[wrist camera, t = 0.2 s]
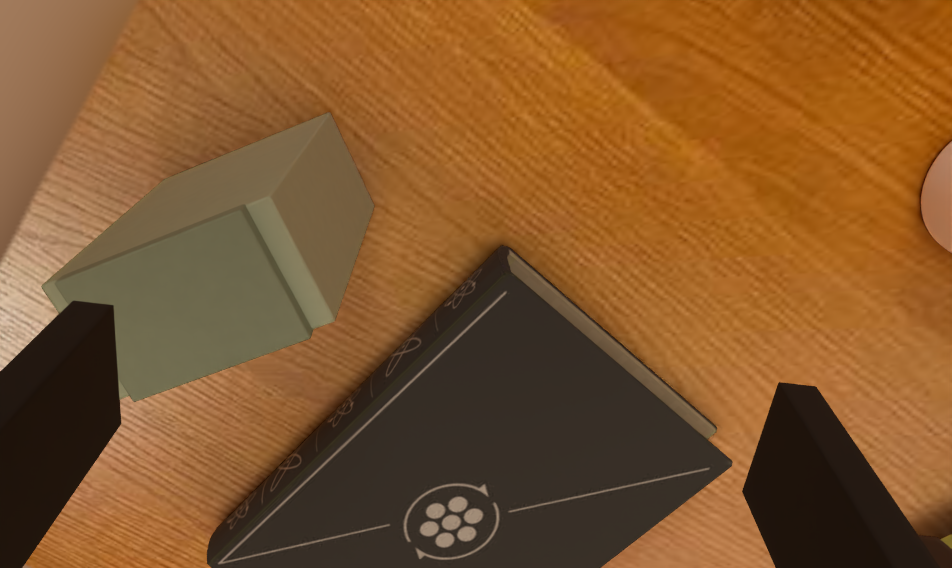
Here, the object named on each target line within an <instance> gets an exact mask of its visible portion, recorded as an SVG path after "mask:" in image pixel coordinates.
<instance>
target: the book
mask: <svg viewBox="0 0 952 568" xmlns="http://www.w3.org/2000/svg"><path fill="white" fill-rule="evenodd" d="M716 431H717V427H716V426H715V425H714V424H713V423H711V422H710V421H709V420H708V419H707V418H706V417H705V416H703V415H702V414H701V413H700V412H699V411H698V410H696V409H695V408H694V407H693V406H692V405H691V404H690V403H688V402H687V401H686V400H685V399H684V398H683V397H681V396H680V395H679V394H678V393H677V392H676V391H675V390H673V389H672V388H671V387H670V386H669V385H668V384H666V383H665V382H664V381H663V380H662V379H661V378H660V377H658V376H657V375H656V374H655V373H654V372H653V371H652V370H650V369H649V368H648V367H647V366H646V365H645V364H643V363H642V362H641V361H640V360H639V359H638V358H637V357H635V356H634V355H633V354H632V353H631V352H630V351H628V350H627V349H626V348H625V347H624V346H623V345H622V344H620V343H619V342H618V341H617V340H616V339H615V338H613V337H612V336H611V335H610V334H609V333H608V332H607V331H605V330H604V329H603V328H602V327H601V326H600V325H598V324H597V323H596V322H595V321H594V320H593V319H592V318H590V317H589V316H588V315H587V314H586V313H585V312H583V311H582V310H581V309H580V308H579V307H578V306H577V305H575V304H574V303H573V302H572V301H571V300H570V299H568V298H567V297H566V296H565V295H564V294H563V293H562V292H560V291H559V290H558V289H557V288H556V287H555V286H553V285H552V284H551V283H550V282H549V281H548V280H547V279H545V278H544V277H543V276H542V275H541V274H540V273H538V272H537V271H536V270H535V269H534V268H533V267H532V266H530V265H529V264H528V263H527V262H526V261H525V260H523V259H522V258H521V257H520V256H519V255H518V254H517V253H515V252H514V251H513V250H512V249H511V248H509V247H507V246H503V245H502V246H500V247H499V248H498V249H497V250H496V251H495V252H494V253H493V254H492V255H491V256H490V257H489V258H488V259H487V260H486V261H485V262H484V263H483V264H482V265H481V266H480V267H479V268H478V269H477V270H476V271H475V272H474V273H473V274H472V275H471V276H470V277H469V278H468V279H467V280H466V281H465V282H464V283H463V284H462V285H461V286H460V287H459V288H458V289H457V290H456V291H455V292H454V293H453V294H452V295H451V296H450V297H449V298H448V299H447V300H446V301H445V302H444V303H443V304H442V305H441V306H440V307H439V308H438V309H437V310H436V311H435V312H434V313H433V314H432V315H431V316H430V317H429V318H428V319H427V320H426V321H425V322H424V323H423V324H422V325H421V326H420V327H419V328H418V329H417V330H416V331H415V332H414V333H413V334H412V335H411V336H410V337H409V338H408V339H407V340H406V341H405V342H404V343H403V344H402V345H401V346H400V347H399V348H398V349H396V350H395V351H394V352H393V353H392V354H391V355H390V356H389V357H388V358H387V359H386V360H385V361H384V362H383V363H382V364H381V365H380V366H379V367H378V368H377V369H376V370H375V371H374V372H373V373H372V374H371V375H370V376H369V377H368V378H367V379H366V380H365V381H364V382H363V383H362V384H361V385H360V386H359V387H358V388H357V389H356V390H355V391H354V392H353V393H352V394H351V395H350V396H349V397H348V398H347V399H346V400H345V401H344V402H343V403H342V404H341V405H340V406H339V407H338V408H337V409H336V410H335V411H334V412H333V413H332V414H331V415H330V416H329V417H328V418H327V419H326V420H325V421H324V422H323V423H322V424H321V425H320V426H319V427H318V428H317V429H316V430H315V431H314V432H313V433H312V434H311V435H310V436H309V437H308V438H307V439H306V440H305V441H304V442H303V443H302V444H301V445H300V446H299V447H298V448H297V449H296V450H295V451H294V452H293V453H292V454H291V455H290V456H289V457H288V458H287V459H286V460H285V461H284V462H283V463H282V464H281V465H280V466H279V467H278V468H277V469H276V470H275V471H274V472H273V473H272V474H271V475H270V476H269V477H268V478H267V479H266V480H265V481H264V482H263V483H262V484H261V485H260V486H259V487H258V488H257V489H256V490H255V491H254V492H253V493H252V494H251V495H250V496H249V497H248V498H247V499H246V500H245V501H244V502H243V503H242V504H241V505H240V506H239V507H238V508H237V509H236V510H235V511H234V512H233V513H232V514H231V515H230V516H229V517H228V518H227V519H225V520H224V521H223V522H222V523H221V524H220V525H219V526H218V527H217V529H216V530H215V532H214V533H213V535H212V537H211V539H210V541H209V545H208V550H207V564H208V565H209V566H210V567H211V568H601V567H602V566H603V565H605V564H606V563H607V562H608V561H610V560H611V559H612V558H614V557H615V556H616V555H618V554H619V553H620V552H621V551H623V550H624V549H625V548H627V547H628V546H629V545H630V544H632V543H633V542H634V541H636V540H637V539H638V538H639V537H641V536H642V535H643V534H645V533H646V532H647V531H648V530H650V529H651V528H652V527H654V526H655V525H656V524H658V523H659V522H660V521H661V520H663V519H664V518H665V517H667V516H668V515H669V514H670V513H672V512H673V511H674V510H676V509H677V508H678V507H679V506H681V505H682V504H683V503H685V502H686V501H687V500H689V499H690V498H691V497H692V496H694V495H695V494H696V493H698V492H699V491H700V490H701V489H703V488H704V487H705V486H707V485H708V484H709V483H710V482H712V481H713V480H714V479H716V478H717V477H718V476H719V475H721V474H722V473H723V472H725V471H726V470H727V469H729V468H730V467H731V466H732V463H733V462H732V460H731V459H729V458H728V457H727V456H726V455H725V454H724V453H722V452H721V451H720V450H719V449H718V448H717V447H715V446H714V445H713V444H712V443H711V442H710V441H708V440H707V439H708V438H709V437H711V436H712V435H713V434H714V433H716Z"/></svg>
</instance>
